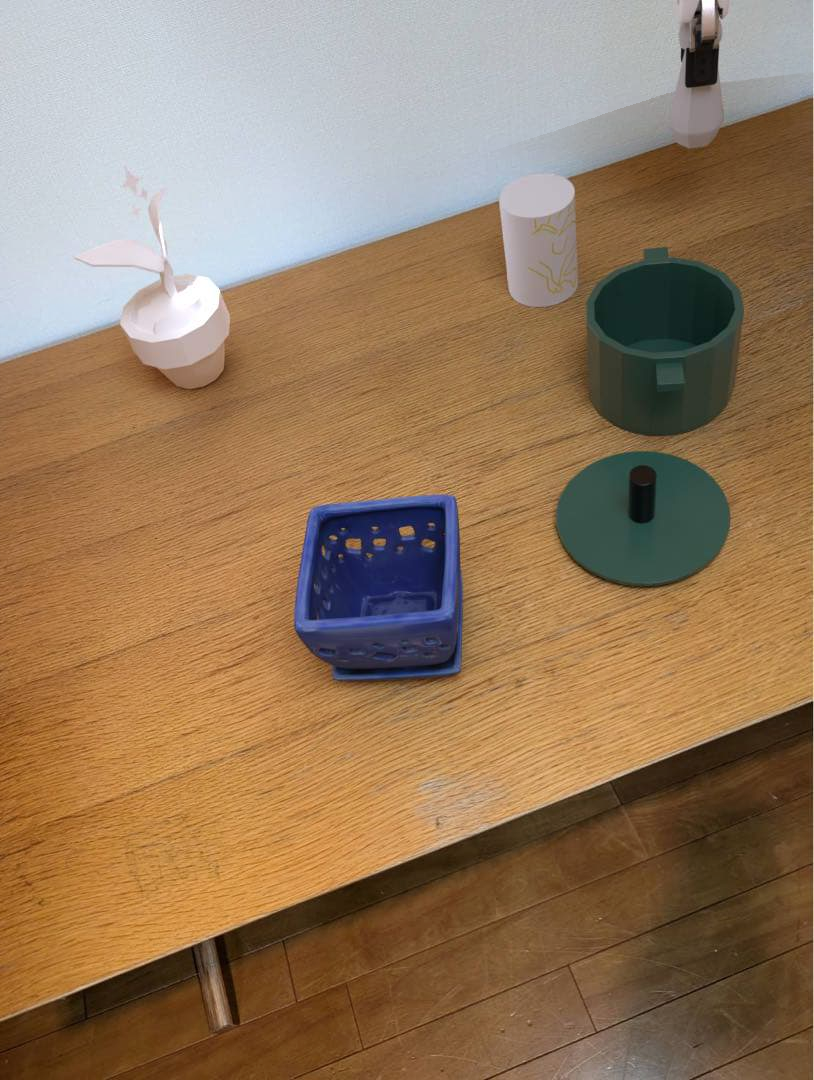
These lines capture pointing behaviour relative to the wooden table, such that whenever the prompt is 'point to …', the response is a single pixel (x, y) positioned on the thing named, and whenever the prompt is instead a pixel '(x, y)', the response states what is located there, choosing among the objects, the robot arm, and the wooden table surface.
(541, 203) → the white cylinder
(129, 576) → the wooden table surface
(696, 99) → the salt shaker
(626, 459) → the lid
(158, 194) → the potted plant
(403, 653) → the flower pot
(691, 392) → the pot
